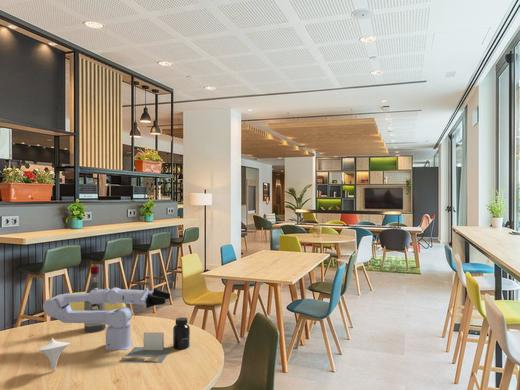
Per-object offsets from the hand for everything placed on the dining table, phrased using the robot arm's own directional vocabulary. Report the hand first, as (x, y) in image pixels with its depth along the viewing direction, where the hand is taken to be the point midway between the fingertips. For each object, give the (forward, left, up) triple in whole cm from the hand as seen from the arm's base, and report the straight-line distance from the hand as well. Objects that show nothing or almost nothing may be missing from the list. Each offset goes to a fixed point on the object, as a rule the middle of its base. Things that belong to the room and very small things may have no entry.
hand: (167, 298), depth 171 cm
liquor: (-42, +23, -21) cm, 52 cm away
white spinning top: (-35, -25, -21) cm, 48 cm away
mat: (-6, -9, -20) cm, 23 cm away
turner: (-7, -15, -20) cm, 26 cm away
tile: (-5, -4, -20) cm, 21 cm away
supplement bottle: (+6, 0, -21) cm, 21 cm away
